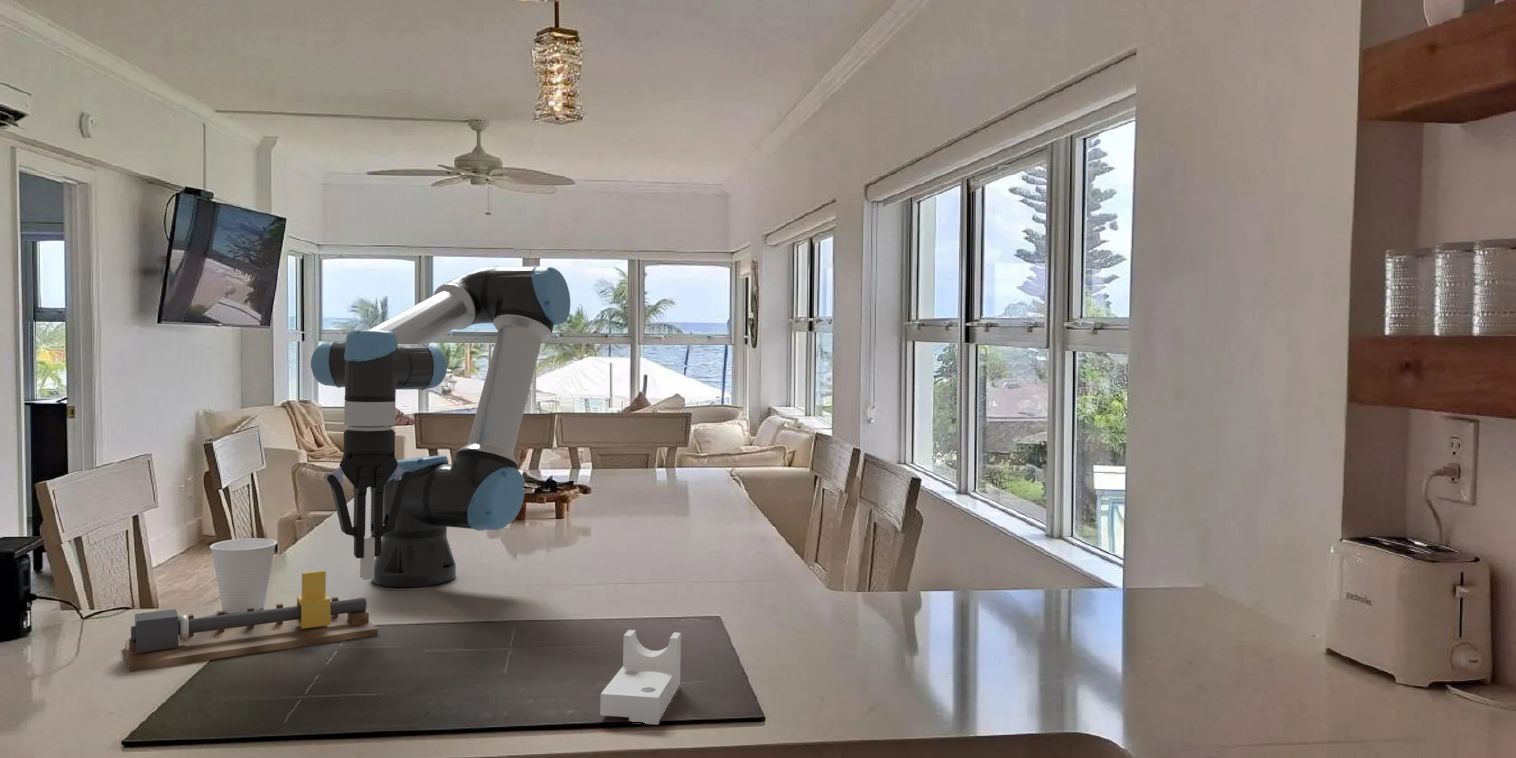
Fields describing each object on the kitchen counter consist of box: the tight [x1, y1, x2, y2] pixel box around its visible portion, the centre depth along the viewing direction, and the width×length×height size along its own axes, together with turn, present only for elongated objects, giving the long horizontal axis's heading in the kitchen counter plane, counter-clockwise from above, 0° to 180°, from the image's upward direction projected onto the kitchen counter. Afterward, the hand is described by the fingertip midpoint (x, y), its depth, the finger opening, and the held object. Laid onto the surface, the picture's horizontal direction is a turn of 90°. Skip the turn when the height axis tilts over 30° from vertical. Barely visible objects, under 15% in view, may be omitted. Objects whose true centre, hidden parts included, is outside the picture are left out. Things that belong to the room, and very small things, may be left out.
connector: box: [134, 608, 189, 653], centre depth 138 cm, size 6×4×4 cm
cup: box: [209, 537, 278, 615], centre depth 161 cm, size 10×10×11 cm
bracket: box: [599, 629, 682, 726], centre depth 123 cm, size 13×7×8 cm, turn 173°
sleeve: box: [296, 569, 331, 629], centre depth 149 cm, size 4×4×8 cm
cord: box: [130, 597, 367, 641], centre depth 144 cm, size 31×2×2 cm, turn 125°
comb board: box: [124, 596, 379, 672], centre depth 144 cm, size 32×12×4 cm, turn 125°
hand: (367, 577), depth 153 cm, fingers closed
